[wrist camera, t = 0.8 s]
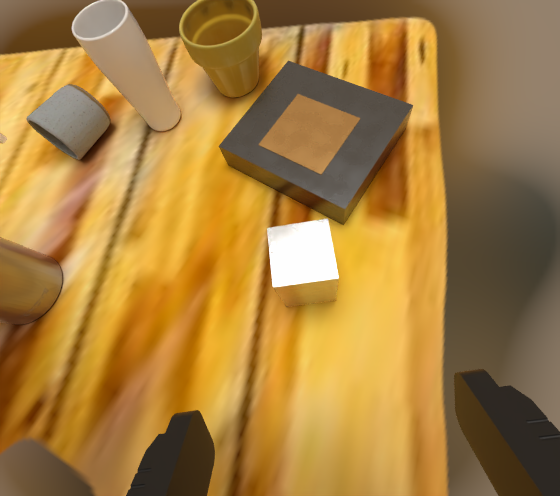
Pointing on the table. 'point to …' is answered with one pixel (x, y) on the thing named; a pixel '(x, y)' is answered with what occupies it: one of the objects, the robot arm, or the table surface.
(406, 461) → the table surface
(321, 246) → the aluminium block
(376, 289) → the table surface
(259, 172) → the steel plate
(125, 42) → the white tube
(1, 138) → the bracket
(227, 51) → the plant pot
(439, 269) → the table surface
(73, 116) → the ceramic mug
